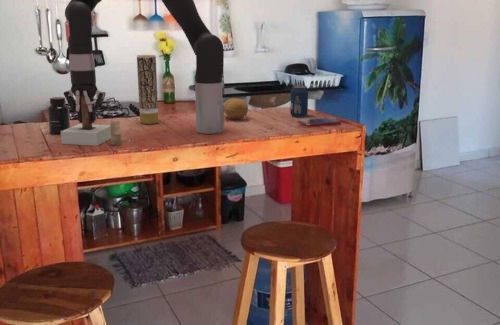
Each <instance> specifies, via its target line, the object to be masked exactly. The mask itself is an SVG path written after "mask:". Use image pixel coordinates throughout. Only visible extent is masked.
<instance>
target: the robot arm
mask: <svg viewBox="0 0 500 325" xmlns="http://www.w3.org/2000/svg"><path fill="white" fill-rule="evenodd" d="M101 2H102V0H70V1H69V2H68V4H67V5H66V7H65V10H64V17H65V18H66V21H67V23H68V29H69V36H68V52H69V58H68V60H69V61H68V62H69V63H68V64H69V72H70V73H69V74H70V75H69V76H70V83H71V87H70V89H69V90H67V91H63V95H64V98H65V101H66V102H67V103H68V107H70V108H69V109H71V110H75V111H76V115H77V121H78V124H82V115H81V104H80V95H81V96H85V100H86V104H87V105H88V109H89V123H92V124H94V123H95V122H96V118H97V117H96V115H97V114H96V111H98V110H101V108H102V105H103V103H104V99H105V97H106V94H107V93H106V92H105V91H101V90H98V86H97V78H96V64H95V58H94V48H93V46H94V45H93V41H92V34H93V15H92V12H93V11H94V9H95V8H96V6H97V5H98V4H99V3H101ZM161 2H162V3H163V5H164V6H165V8H166V9H167V11H168V12H169V14H170V15H171V16H172V18H173V19H174V21H176V23H177V24H178V25H179V27H180V28H181V30H182V32H183V33H184V35H185V37H186V38H187V41H188V42H189V45H190V47H191V50H192V52H193V54H194V55H195V63H196V64H195V65H196V69H195V75H194V81H195V82H194V89H195V90H194V91H195V93H194V94H195V130H196V133H198V134H203V135H204V134H206V135H211V134H221V133H223V132H224V130H225V112H224V104H225V103H224V102H223V76H224V59H225V58H224V52H225V51H224V50H225V49H224V45H223V42H222V40H221V38H219V37H218V36H217V35H215V34H213V33H212V32H211V31H210V30H209V28H208V27H207V26H206V24H205V23H204V21H203V20H202V18H201V16H200V13H199V11H198V9H197V6H196V3H195V1H194V0H161ZM74 96H75V98H74ZM95 96H96V100H95Z"/></svg>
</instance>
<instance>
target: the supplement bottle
mask: <svg viewBox="0 0 500 325" xmlns="http://www.w3.org/2000/svg"><path fill="white" fill-rule="evenodd" d="M49 104H50V105H49V106H48V107H47V115H48V116H47V117H48V118H47V119H48V130H49V133H50V134H51V135H61V132H60V131H63V130H65V129H68V128H70V127H71V120H70V108H69V106H68V105H66V98H65V96H64V97H63V96H59V97H58V96H55V97H50V98H49Z"/></svg>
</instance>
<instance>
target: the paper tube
mask: <svg viewBox="0 0 500 325" xmlns="http://www.w3.org/2000/svg"><path fill="white" fill-rule="evenodd" d="M156 59H157V56H156V55H155V54H137V55H136V63H137V64H136V65H137V66H136V68H137V83H138V84H137V86H138V89H137V90H138V101H139V103H138V104H139V106H138V108H139V121H140V123H141V124H144V125H153V124H157V123H158V122H159V102H158V100H159V99H158V81H157V80H158V79H157V77H158V76H157V60H156Z"/></svg>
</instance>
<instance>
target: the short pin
mask: <svg viewBox="0 0 500 325" xmlns="http://www.w3.org/2000/svg"><path fill="white" fill-rule="evenodd" d="M109 125H110V128H111V139H110V140H111V141H110V142H111V144H110V145H111V146H120V145H121V146H122V136H121V135H122V134H121V122H120V121H110V122H109Z"/></svg>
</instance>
